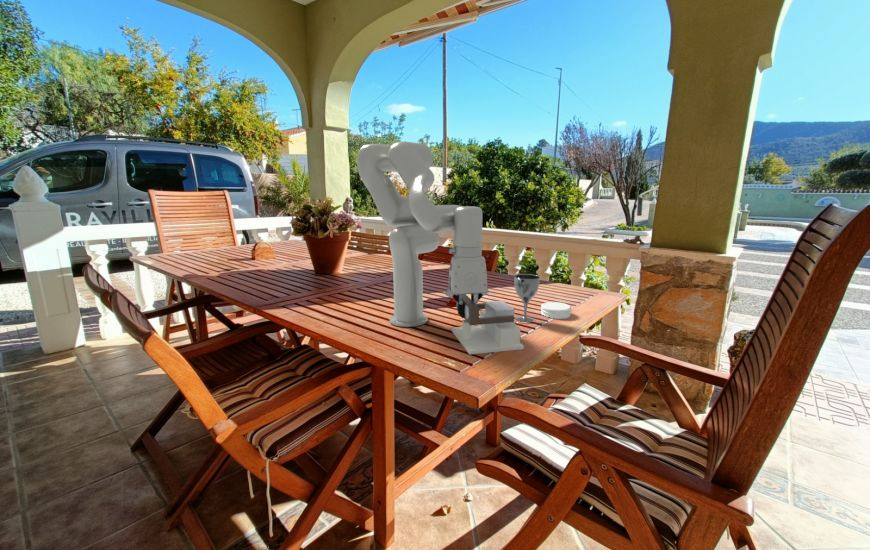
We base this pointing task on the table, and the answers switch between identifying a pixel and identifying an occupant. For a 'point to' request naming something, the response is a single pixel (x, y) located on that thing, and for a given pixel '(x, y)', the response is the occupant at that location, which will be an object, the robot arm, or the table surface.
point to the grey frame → (473, 313)
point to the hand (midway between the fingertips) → (466, 315)
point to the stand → (490, 332)
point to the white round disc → (556, 310)
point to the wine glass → (526, 291)
